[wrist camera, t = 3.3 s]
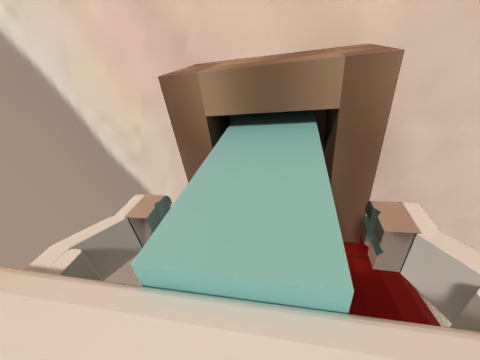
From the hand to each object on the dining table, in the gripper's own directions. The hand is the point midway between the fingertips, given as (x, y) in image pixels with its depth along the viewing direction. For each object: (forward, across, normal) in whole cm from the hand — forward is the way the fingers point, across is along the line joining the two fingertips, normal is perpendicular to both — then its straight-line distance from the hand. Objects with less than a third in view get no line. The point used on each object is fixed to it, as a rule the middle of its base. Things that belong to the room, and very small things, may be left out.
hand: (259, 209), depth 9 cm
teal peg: (+7, 0, 0) cm, 7 cm away
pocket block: (+8, 0, 0) cm, 8 cm away
